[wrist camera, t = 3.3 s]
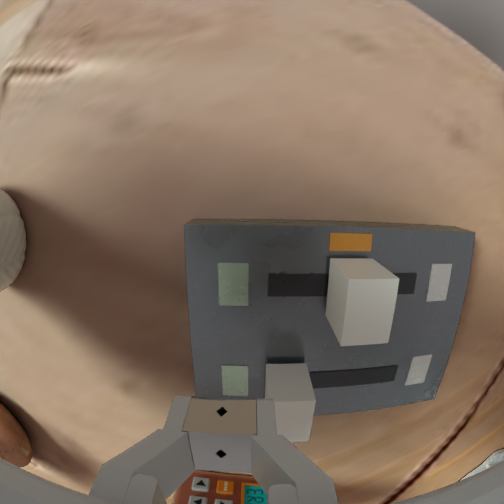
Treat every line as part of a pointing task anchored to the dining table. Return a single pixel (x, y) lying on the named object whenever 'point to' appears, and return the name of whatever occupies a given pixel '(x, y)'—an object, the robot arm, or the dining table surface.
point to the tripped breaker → (360, 301)
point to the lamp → (10, 240)
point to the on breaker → (291, 399)
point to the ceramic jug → (13, 440)
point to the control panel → (219, 489)
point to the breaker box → (320, 307)
